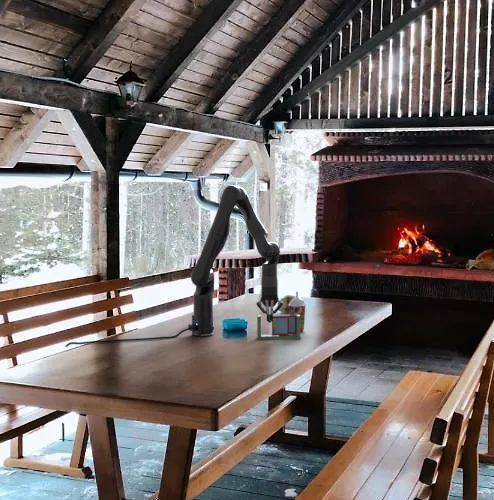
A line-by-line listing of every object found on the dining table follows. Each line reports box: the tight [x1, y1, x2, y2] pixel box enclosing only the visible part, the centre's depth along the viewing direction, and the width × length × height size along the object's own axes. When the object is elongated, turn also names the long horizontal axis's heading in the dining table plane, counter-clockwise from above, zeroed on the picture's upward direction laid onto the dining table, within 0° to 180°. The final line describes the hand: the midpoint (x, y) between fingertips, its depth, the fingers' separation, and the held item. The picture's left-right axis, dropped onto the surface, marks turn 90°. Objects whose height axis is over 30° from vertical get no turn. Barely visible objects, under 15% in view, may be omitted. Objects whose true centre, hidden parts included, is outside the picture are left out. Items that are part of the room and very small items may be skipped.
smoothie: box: [288, 291, 306, 334], centre depth 361 cm, size 8×8×20 cm
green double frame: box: [256, 314, 301, 341], centre depth 345 cm, size 4×20×11 cm, turn 93°
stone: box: [278, 294, 296, 314], centre depth 421 cm, size 17×12×10 cm
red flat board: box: [271, 315, 290, 336], centre depth 342 cm, size 4×8×9 cm, turn 92°
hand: (269, 322), depth 340 cm, fingers closed
